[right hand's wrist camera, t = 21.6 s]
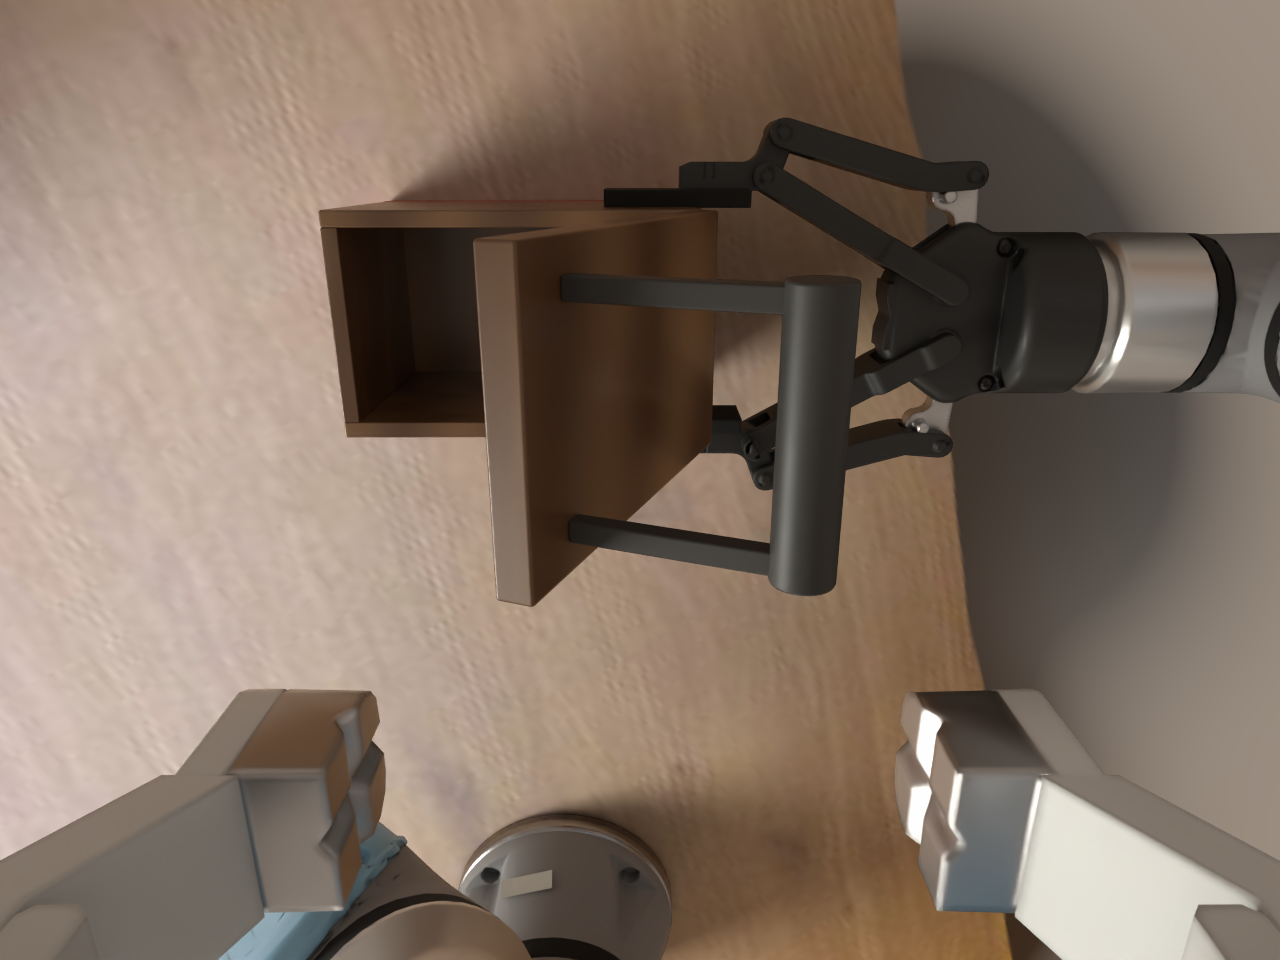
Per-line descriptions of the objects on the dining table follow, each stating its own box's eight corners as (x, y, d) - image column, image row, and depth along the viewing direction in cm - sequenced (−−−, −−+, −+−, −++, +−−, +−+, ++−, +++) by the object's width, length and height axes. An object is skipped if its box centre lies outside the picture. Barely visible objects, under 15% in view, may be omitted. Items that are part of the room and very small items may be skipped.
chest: (407, 381, 49) (345, 437, 39) (390, 200, 46) (317, 209, 35) (685, 380, 49) (698, 437, 39) (688, 200, 46) (703, 209, 35)
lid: (495, 601, 24) (813, 665, 21) (470, 238, 21) (846, 250, 18) (686, 439, 38) (892, 463, 35) (690, 210, 35) (918, 213, 32)
